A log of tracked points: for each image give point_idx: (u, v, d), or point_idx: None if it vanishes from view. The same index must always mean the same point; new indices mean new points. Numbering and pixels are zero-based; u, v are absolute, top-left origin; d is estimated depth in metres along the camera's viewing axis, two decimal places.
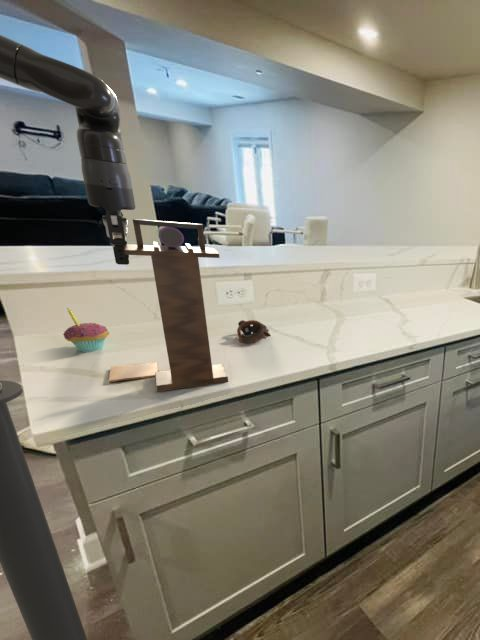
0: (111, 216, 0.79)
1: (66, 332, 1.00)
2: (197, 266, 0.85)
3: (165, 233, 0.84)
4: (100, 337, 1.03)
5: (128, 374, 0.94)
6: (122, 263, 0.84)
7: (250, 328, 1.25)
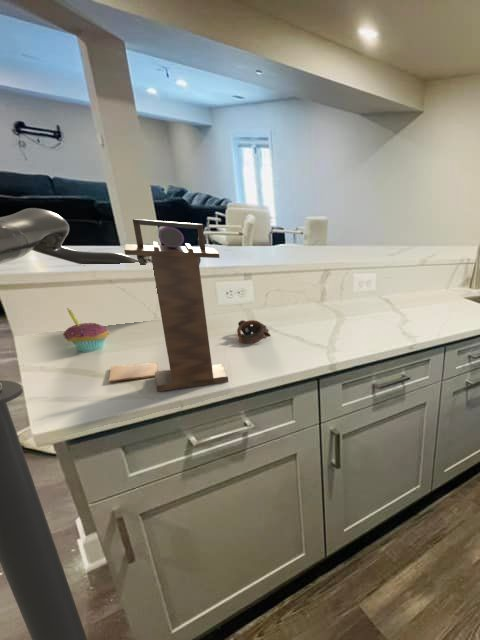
0: None
1: (66, 332, 1.00)
2: (197, 266, 0.85)
3: (165, 233, 0.84)
4: (100, 337, 1.03)
5: (128, 374, 0.94)
6: None
7: (250, 328, 1.25)
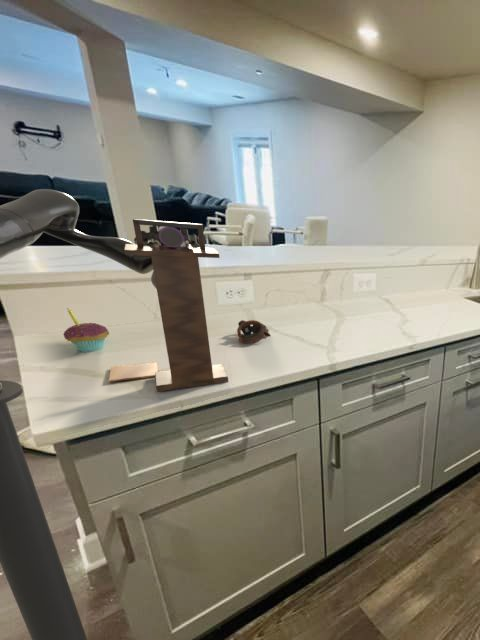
0: None
1: (66, 332, 1.00)
2: (197, 266, 0.85)
3: (165, 233, 0.84)
4: (100, 337, 1.03)
5: (128, 374, 0.94)
6: (153, 228, 0.88)
7: (250, 328, 1.25)
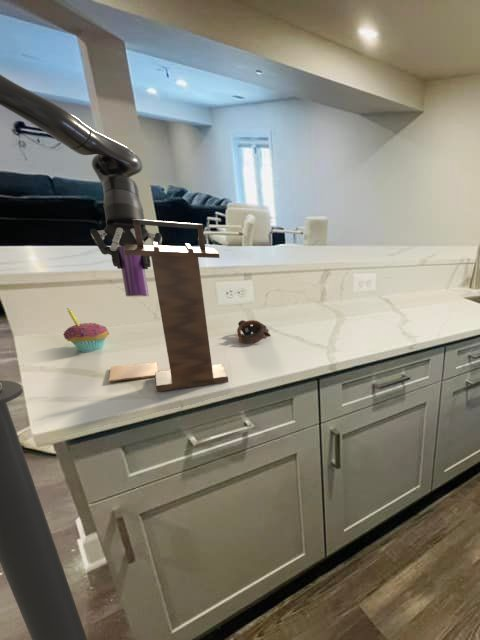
0: None
1: (66, 332, 1.00)
2: (197, 266, 0.85)
3: (132, 296, 0.95)
4: (100, 337, 1.03)
5: (128, 374, 0.94)
6: None
7: (250, 328, 1.25)
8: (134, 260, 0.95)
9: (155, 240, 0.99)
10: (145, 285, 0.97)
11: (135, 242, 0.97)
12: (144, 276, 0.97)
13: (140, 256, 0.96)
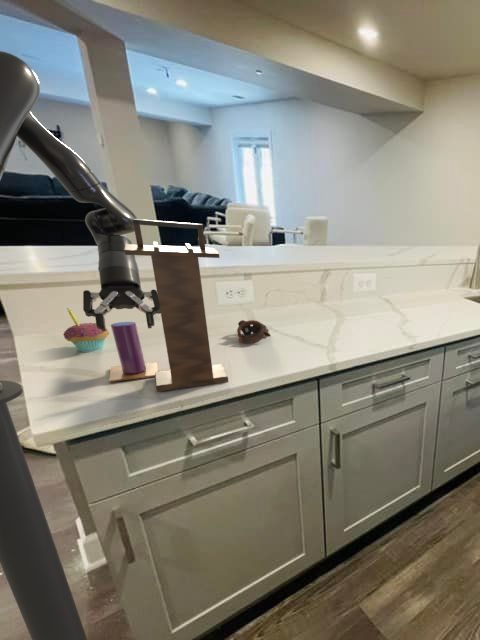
0: None
1: (66, 332, 1.00)
2: (197, 266, 0.85)
3: None
4: (100, 337, 1.03)
5: (128, 374, 0.94)
6: (101, 329, 0.92)
7: (250, 328, 1.25)
8: (129, 339, 0.92)
9: (154, 298, 1.00)
10: (142, 361, 0.95)
11: (135, 304, 0.97)
12: (140, 352, 0.94)
13: (135, 333, 0.93)
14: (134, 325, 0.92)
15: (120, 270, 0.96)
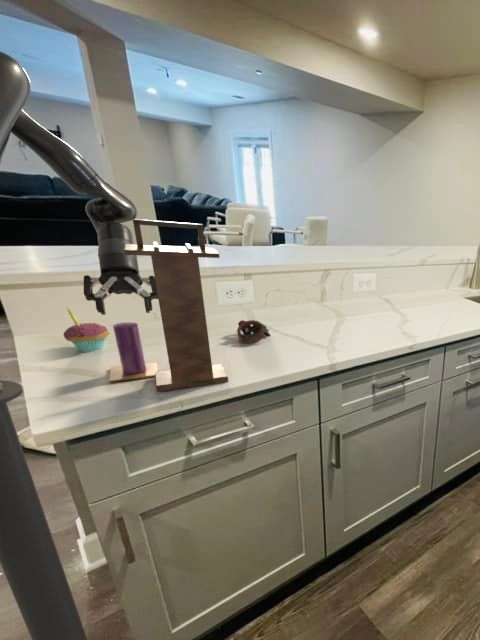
0: None
1: (66, 332, 1.00)
2: (197, 266, 0.85)
3: None
4: (100, 337, 1.03)
5: (128, 374, 0.94)
6: (100, 312, 0.95)
7: (250, 328, 1.25)
8: (131, 341, 0.91)
9: (152, 284, 1.03)
10: (142, 362, 0.95)
11: (133, 289, 1.01)
12: (141, 353, 0.94)
13: (137, 334, 0.92)
14: (136, 327, 0.92)
15: (119, 256, 0.99)
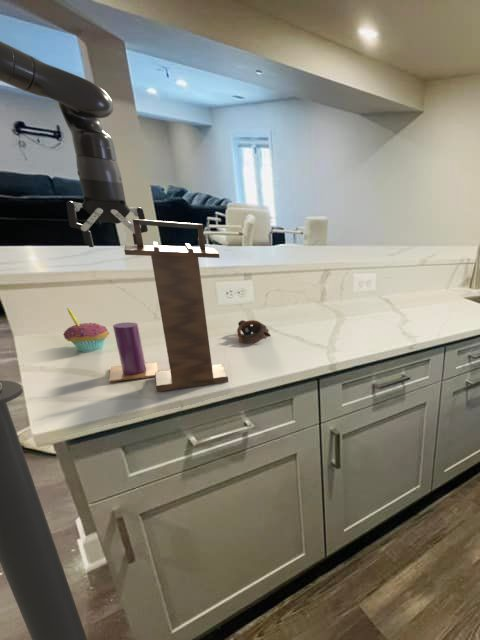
0: None
1: (66, 332, 1.00)
2: (197, 266, 0.85)
3: None
4: (100, 337, 1.03)
5: (128, 374, 0.94)
6: (89, 245, 0.95)
7: (250, 328, 1.25)
8: (131, 341, 0.91)
9: (140, 218, 0.98)
10: (142, 362, 0.95)
11: None
12: (141, 353, 0.94)
13: (137, 334, 0.92)
14: (136, 327, 0.92)
15: (104, 187, 0.91)
